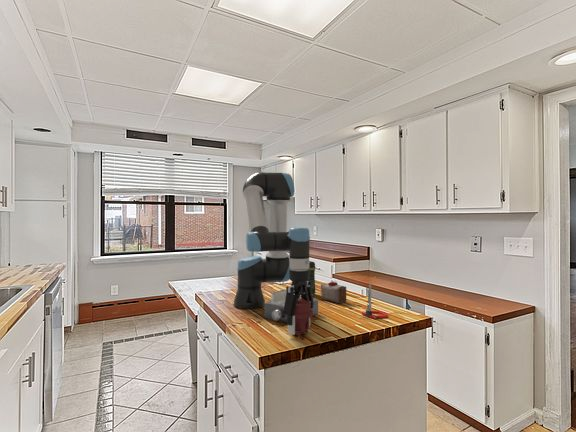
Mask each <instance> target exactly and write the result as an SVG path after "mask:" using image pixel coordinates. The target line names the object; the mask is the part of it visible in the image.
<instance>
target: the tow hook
mask: <svg viewBox="0 0 576 432" xmlns="http://www.w3.org/2000/svg"><path fill="white" fill-rule="evenodd" d="M367 293H368V295H367V304H366V305H367V306H366V310H365V311H362V312H361V315H362V316H365V317H366V316H367V318H369V319H372V318H373V320H376V319H386V318H387V316H388V314H387V313H386V312H384V311H382V310H381V311H380V310H372V284H368V292H367Z"/></svg>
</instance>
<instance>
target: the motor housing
mask: <svg viewBox="0 0 576 432" xmlns="http://www.w3.org/2000/svg"><path fill="white" fill-rule="evenodd" d="M270 295H271V297H270V299H271V300H268V301H265V305H264V318H265V319H268V320H272V321H273V320H274V321H275V322H278V321H279V322H283V323H286V324H287V316H286V315H283V311H284V305H285V299H286V288H285V289H281V290H278V291H275V292H272V293H270ZM312 295H313V296H314V294H312ZM300 298H301V295H300ZM313 301H314V305H313V309H311V310H312V311H313V316H312V317H310V319H312V318H313V317H314V316H317V315H319V299H317V298H314V297H313ZM310 302H311V301H310Z"/></svg>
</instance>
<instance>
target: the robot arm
mask: <svg viewBox="0 0 576 432" xmlns="http://www.w3.org/2000/svg"><path fill="white" fill-rule="evenodd" d="M294 194H295V185H294V179H293V177H292V175H291V174H290V173H286V172H263V171H259V172H255V173H254V174H251V175H250V176H249V177H248V178H247V179H246V180H245V182H244V183H243V187H242V196H243V198H244V200H245V202H246V209H247V210H246V211H247V217H248V225H249V232H247V233H246V237H245V245H246V249H247V251H248V252H252V253H253V252H257V253H260V252H267V253H266V254H265V258H262V256H261V255H252V256H247V257H243V258H240V259H239V260H238V262H237V269H236V270H237V289H236V294H235V297H234V299H233V306H234V307H235V308H238V309H242V310H243V309H245V310H249V309H250V310H251V309H252V310H253V309H258V308H262V307H265V303H266V300H265V299H266V298H265V297H264V293H263V289H262V284H263V283H264V284H266V283H267V284H268V283H285V282H288V281H291V285H290V286H289V285H288V286H286V287H285V290H286V299H285V305H284V311H283V315H287V323H286V324H287V334H289V335H293V336H295V335H296V333H295V316H293V315H294V312H295V308H296V304H297V301H298V298H300V296H301V298H302V299H304V300H307V301H309V302H310V301H311V302H310V303H311V309H313V305H314V301H313V298H314V294H313V295H312V289H311V282H310V281H308V280H309V270H308V269H309V263H310V262H309V261H310V239H311V237H310V229H309V228H308V227H291V228H290V229H289V231H287V222H288V220H287V217H288V214H287V213H288V211H287V210H288V203H290V201H291V198H292V197H294ZM263 197H266V201H267V203H269V213H268V215H269V218H268V217H267V213H266V209H265V204H264V198H263ZM267 218H268V219H269V221H268V220H267ZM268 222H269V223H268ZM287 252H289V253H287ZM286 311H287V312H286ZM309 327H311V318H309Z"/></svg>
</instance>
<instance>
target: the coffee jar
mask: <svg viewBox="0 0 576 432" xmlns="http://www.w3.org/2000/svg"><path fill="white" fill-rule="evenodd" d="M309 262H310V263H309V269H308V270H309V280H308V281H310V282H311V289H312V294H313V295H315V294H316V280H315V279H316V277H315V275H316V274H315V273H316V272H315V271H316V262H315V261H312V260H311V261H310V260H309Z"/></svg>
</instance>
